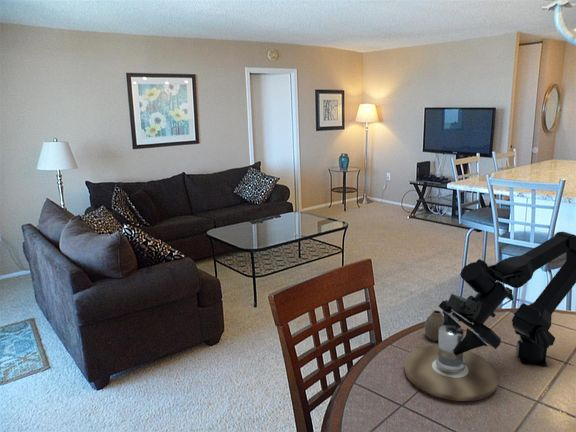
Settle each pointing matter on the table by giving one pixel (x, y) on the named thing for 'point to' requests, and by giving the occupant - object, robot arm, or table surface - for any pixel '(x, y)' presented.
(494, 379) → the turntable
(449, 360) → the cover
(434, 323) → the vase
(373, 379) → the table surface
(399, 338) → the table surface
